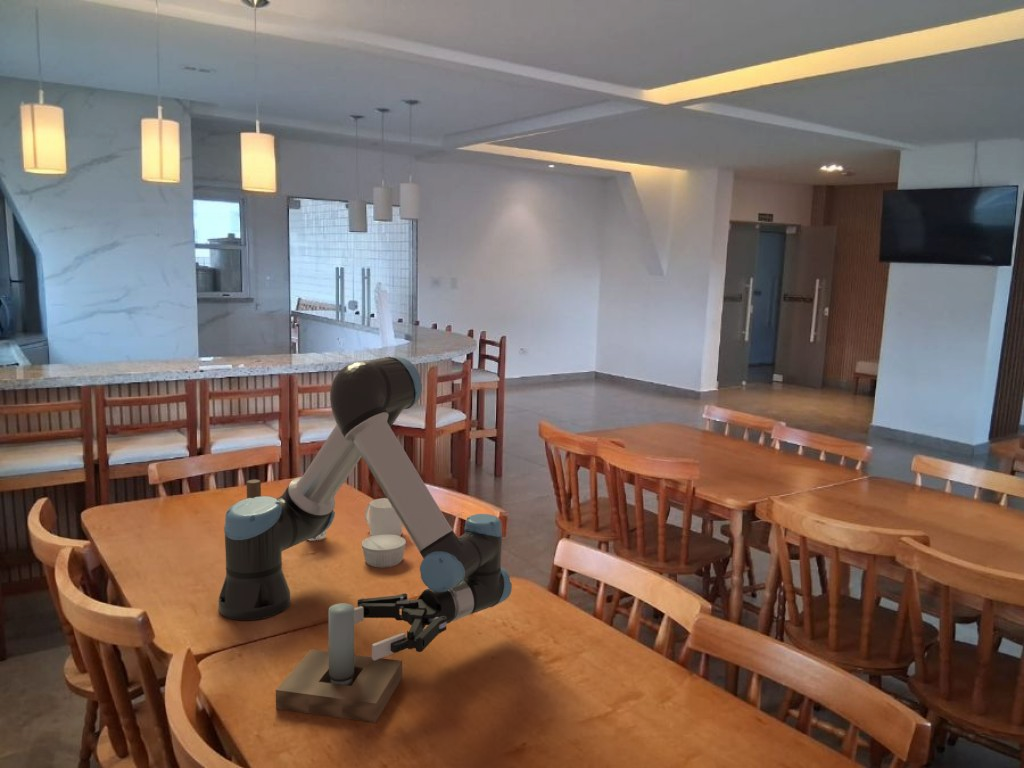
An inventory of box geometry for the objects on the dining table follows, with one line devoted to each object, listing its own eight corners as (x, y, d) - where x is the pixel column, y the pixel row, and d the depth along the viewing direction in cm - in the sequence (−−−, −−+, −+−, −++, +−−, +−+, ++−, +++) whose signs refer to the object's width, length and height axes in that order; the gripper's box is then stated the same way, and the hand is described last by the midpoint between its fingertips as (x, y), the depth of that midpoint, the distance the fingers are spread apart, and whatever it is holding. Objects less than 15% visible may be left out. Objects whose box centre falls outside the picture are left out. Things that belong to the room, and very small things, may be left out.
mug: (408, 534, 212) (409, 503, 211) (383, 542, 205) (383, 510, 204) (382, 524, 220) (382, 493, 219) (357, 531, 213) (357, 500, 212)
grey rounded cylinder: (324, 698, 132) (324, 613, 129) (334, 684, 136) (334, 602, 134) (348, 701, 131) (348, 615, 129) (357, 687, 135) (357, 604, 133)
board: (275, 708, 128) (275, 689, 128) (311, 666, 142) (311, 649, 141) (375, 722, 125) (375, 703, 125) (402, 678, 139) (402, 660, 138)
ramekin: (353, 565, 190) (353, 545, 189) (376, 550, 200) (376, 531, 199) (391, 573, 186) (391, 552, 185) (413, 557, 196) (413, 538, 195)
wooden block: (261, 557, 193) (260, 490, 190) (245, 545, 200) (243, 480, 198) (275, 554, 195) (274, 487, 192) (258, 542, 203) (257, 478, 200)
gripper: (486, 645, 139) (391, 686, 125) (407, 599, 157) (316, 631, 142) (487, 607, 138) (392, 644, 123) (408, 566, 156) (316, 594, 141)
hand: (351, 637), depth 133 cm, fingers open, 13 cm apart
